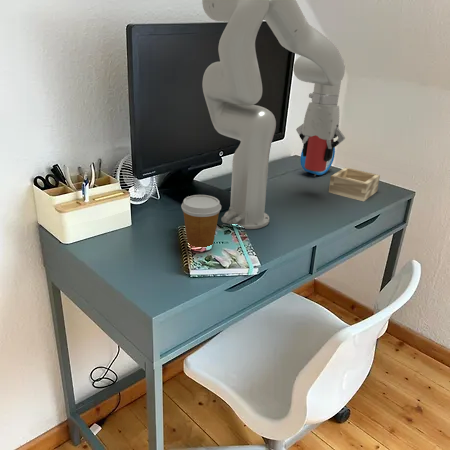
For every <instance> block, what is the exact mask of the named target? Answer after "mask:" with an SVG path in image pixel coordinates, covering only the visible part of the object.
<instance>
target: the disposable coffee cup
mask: <svg viewBox="0 0 450 450" xmlns="http://www.w3.org/2000/svg"><path fill="white" fill-rule="evenodd" d="M180 207H181V210H182V212H183V219H184V227H185V236H186V243H187V242H188V243H189V244H190V245H192V246H195V247H207V246H210V245H212V244H213V245H214V243H213V242H215V235H216V232H217V226H218V221H219V215H220V211H221V210H222V205H221V202H220V200H219V199H218V198H217V197H215V196H213V195H207V194H193V195H190V196H189V195H188V196H186V197H185V198H184V199H183V201H182V203H181V206H180Z"/></svg>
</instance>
